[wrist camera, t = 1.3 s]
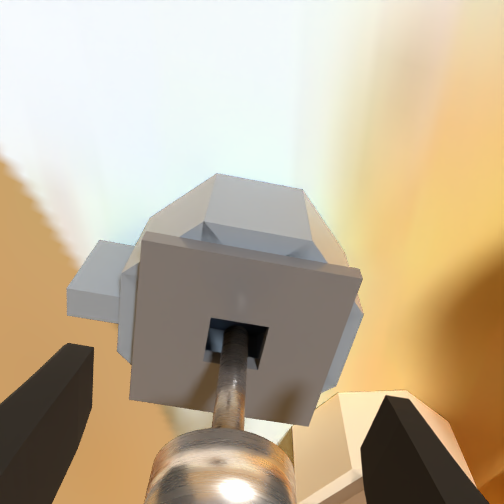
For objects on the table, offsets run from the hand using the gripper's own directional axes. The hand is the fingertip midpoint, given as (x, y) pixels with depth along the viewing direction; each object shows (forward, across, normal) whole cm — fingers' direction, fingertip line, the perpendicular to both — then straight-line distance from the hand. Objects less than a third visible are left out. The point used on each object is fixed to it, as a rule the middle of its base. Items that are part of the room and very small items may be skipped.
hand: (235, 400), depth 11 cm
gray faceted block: (+9, 0, +2) cm, 9 cm away
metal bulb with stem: (+5, 0, +2) cm, 5 cm away
